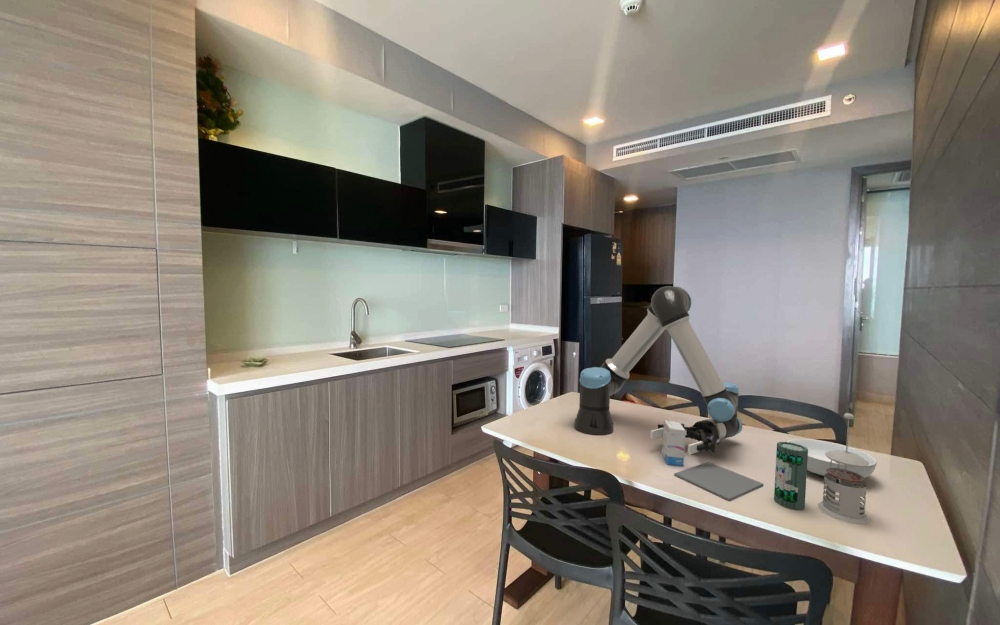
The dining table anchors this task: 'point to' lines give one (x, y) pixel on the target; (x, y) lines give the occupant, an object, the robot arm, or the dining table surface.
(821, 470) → the serving bowl
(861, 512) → the french press
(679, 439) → the ink box
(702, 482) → the rubber mat
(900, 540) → the dining table surface
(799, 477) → the can
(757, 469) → the dining table surface
